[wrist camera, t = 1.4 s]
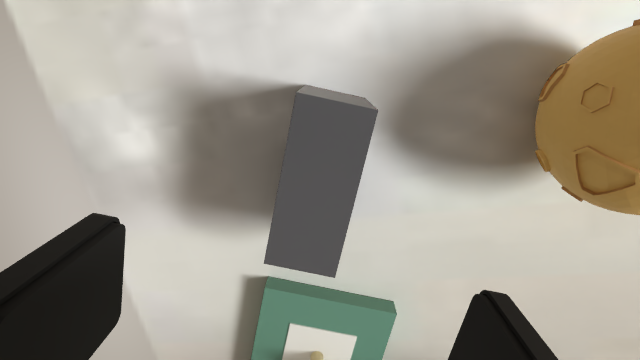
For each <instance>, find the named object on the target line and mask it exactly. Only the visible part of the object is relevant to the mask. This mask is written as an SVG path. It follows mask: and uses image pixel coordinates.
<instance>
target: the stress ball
mask: <svg viewBox="0 0 640 360" xmlns="http://www.w3.org/2000/svg"><path fill="white" fill-rule="evenodd" d="M538 101H540V103H539V106H538V110H537V115H536V123H535V133H536V141H537V146H538V150H536V151H535V153H536V155H537V158H538V160H539V162H540V164H541V166H542V167H543V169H544V171H545V172H548V171H550V173H551V174H552V175H553V176H554V178H555V179H556V180H557V181H558V182H559V183H560V184H561V185H562V186H563V187H562V189H563V190H564V191H566V192H567V193H568V194H570V195H571V196H573V197H574V198H576V199H578V200H579V201H581V202H582V201H583V200H585V201H587V202H589V203H591V204H593V205H596V206H599V207H602V208H605V209H607V210H611V211H616V212H621V213H625V214H634V215H640V19H639V20H635V21H634V23H633V26H631V27H628V28H625V29H623V30H620V31H617V32H614V33H612V34H610V35H607V36H605V37H603V38H601V39H599V40H597V41H595V42H594V43H592V44H590V45H589V46H587V47H586V48H584V49H583V50H581V51H580V52H579V53H577V54H576V55H575V56H573V57H572V58H571V59H570V60H569V61H568V62H567V63H565V64H562V65H560V66H559V67H557V68H556V70H555V71H554V72H553V74H552V75H551V76H550V78H549V79H548V80H547V82H546V84H545V85H544V87H543V89H542V90H541V93H540V96H539V100H538Z"/></svg>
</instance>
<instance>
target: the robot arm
mask: <svg viewBox="0 0 640 360" xmlns="http://www.w3.org/2000/svg"><path fill="white" fill-rule="evenodd" d="M124 249H125V226H124V225H123V224H120V221H119V219H118V218H117V217H112V216H107V215H102V214H97V213H92V214H90V215H89V216H87V217H85V218H84V219H82V220H81V221H79V222H78V223H76V224H75V225H73V226H72V227H70V228H68V229H67V230H65V231H64V232H62V233H61V234H59V235H58V236H56V237H55V238H53V239H52V240H50V241H48V242H47V243H45V244H44V245H42V246H41V247H39V248H38V249H36V250H34V251H33V252H31V253H30V254H28V255H27V256H25V257H24V258H22V259H21V260H19V261H17V262H16V263H15V264H13V265H11V266H10V267H9V268H7V269H5V270H4V271H2V272H0V360H89V358H90V357H91V356H92V355H93V353H94V352H95V351H96V349H97V348H98V347H99V346H100V345H101V343H102V342H103V341H104V339H105V338H106V337H107V336H108V335H109V333H110V332H111V331H112V330H113V328H114V327H115V326H116V324H117V322H118V320H119V317H120V314H121V302H122V285H123V267H124ZM448 360H558V359H557V357H556V356H555V355H554V353H553V352H552V351H551V350H550V348H549V347H548V346H547V344H546V343H545V342H544V341H543V339H542V338H541V337H540V336H539V334H538V333H537V332H536V330H535V329H534V328H533V327H532V325H531V324H530V323H529V322H528V320H527V319H526V318H525V316H524V315H523V314H522V313H521V311H520V310H519V309H518V307H517V306H516V305H515V304H514V302H513V301H512V300H511V299H510V297H509V296H508V295H507V294H503V293H498V292H493V291H488V290H483V291H481V292H480V294H475V295H474V296H473V298H472V300H471V303H470V305H469V308H468V310H467V313H466V315H465V318H464V320H463V323H462V325H461V328H460V330H459V333H458V335H457V338H456V340H455V343H454V345H453V348H452V350H451V353H450V355H449V358H448Z"/></svg>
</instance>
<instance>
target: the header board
mask: <svg viewBox="0 0 640 360" xmlns="http://www.w3.org/2000/svg"><path fill="white" fill-rule="evenodd" d="M396 315H397V313H396V309H395V305H394V302H393V301H388V300H383V299H378V298H373V297H368V296H363V295H358V294H353V293H348V292H343V291H338V290H333V289H328V288H323V287H318V286H313V285H308V284H303V283H298V282H293V281H288V280H283V279H278V278H273V277H268V279H267V282H266V285H265V289H264V295H263V300H262V305H261V310H260V315H259V320H258V325H257V330H256V336H255V341H254V346H253V351H252V356H251V360H382V358H383V355H384V352H385V348H386V345H387V342H388V339H389V336H390V333H391V330H392V327H393V324H394V321H395V318H396Z"/></svg>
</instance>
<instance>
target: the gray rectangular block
mask: <svg viewBox="0 0 640 360" xmlns="http://www.w3.org/2000/svg"><path fill="white" fill-rule="evenodd" d="M377 113H378V109H377V108H375V107H374V106H373V105H372V104H371V103H370V102H369V101H368V100H367V99H366V98H363V97H358V96H354V95H349V94H345V93H340V92H336V91H331V90H327V89H322V88H318V87H313V86H309V85H305V86H303V87H302V88H301V89H300V90H298V91H297V92H296V96H295V102H294V107H293V112H292V118H291V123H290V128H289V133H288V139H287V144H286V149H285V155H284V160H283V165H282V170H281V176H280V181H279V186H278V191H277V197H276V202H275V207H274V213H273V218H272V223H271V228H270V234H269V239H268V244H267V249H266V255H265V260H264V264H269V265H274V266H279V267H284V268H289V269H294V270H299V271H304V272H309V273H314V274H319V275H323V276H328V277H333V278H335V275H336V271H337V268H338V264H339V260H340V256H341V252H342V248H343V244H344V241H345V237H346V233H347V229H348V225H349V221H350V217H351V213H352V210H353V206H354V202H355V198H356V194H357V190H358V186H359V183H360V179H361V175H362V171H363V167H364V163H365V159H366V155H367V152H368V148H369V144H370V140H371V136H372V132H373V128H374V124H375V121H376V117H377Z"/></svg>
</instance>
